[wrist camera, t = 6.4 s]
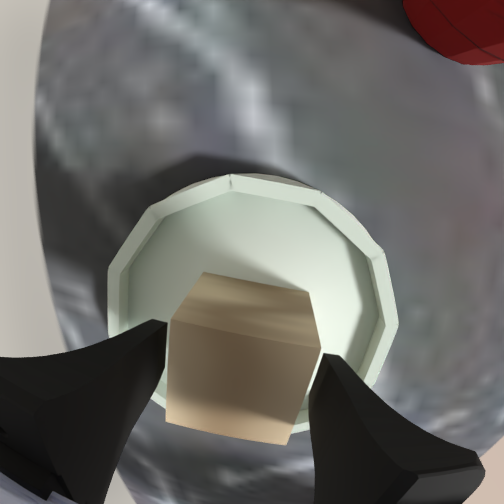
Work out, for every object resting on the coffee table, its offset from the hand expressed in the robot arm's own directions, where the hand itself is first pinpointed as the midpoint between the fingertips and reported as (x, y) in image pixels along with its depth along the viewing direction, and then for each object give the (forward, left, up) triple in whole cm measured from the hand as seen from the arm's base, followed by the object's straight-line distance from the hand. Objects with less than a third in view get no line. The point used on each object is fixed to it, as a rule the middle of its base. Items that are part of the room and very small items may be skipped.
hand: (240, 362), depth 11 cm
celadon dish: (0, 0, -4) cm, 4 cm away
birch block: (0, 0, -3) cm, 3 cm away
